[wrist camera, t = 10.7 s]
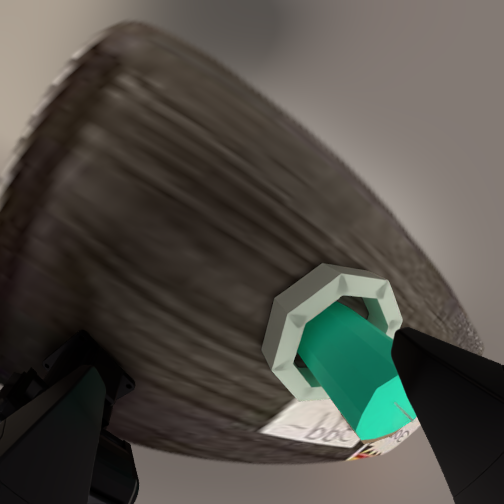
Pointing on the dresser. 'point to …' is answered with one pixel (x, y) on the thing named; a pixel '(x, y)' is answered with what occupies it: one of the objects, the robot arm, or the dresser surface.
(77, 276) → the dresser surface
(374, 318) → the socket
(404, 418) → the candle
